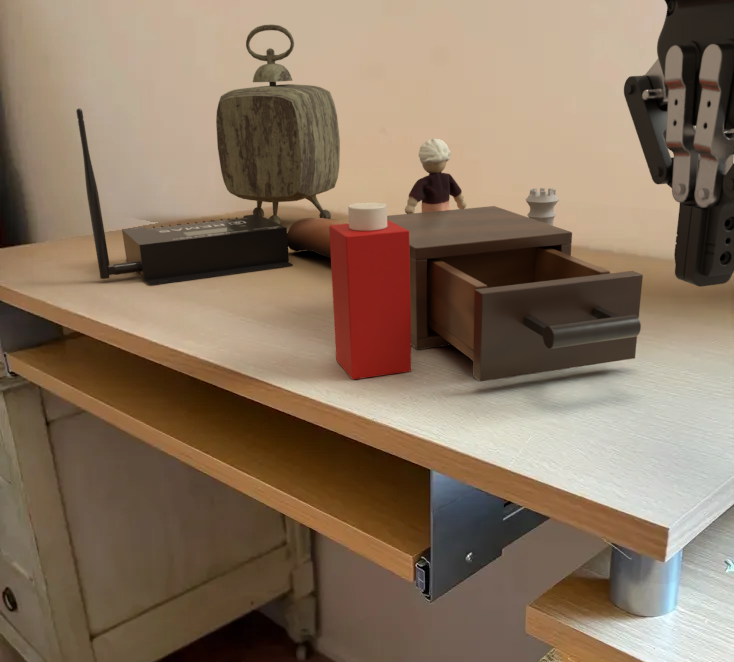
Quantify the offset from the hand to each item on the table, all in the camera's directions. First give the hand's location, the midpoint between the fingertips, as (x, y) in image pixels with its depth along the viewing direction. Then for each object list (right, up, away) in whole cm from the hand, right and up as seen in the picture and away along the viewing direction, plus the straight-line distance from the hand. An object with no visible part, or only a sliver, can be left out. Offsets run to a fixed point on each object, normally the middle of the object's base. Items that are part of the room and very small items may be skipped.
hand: (701, 281), depth 40 cm
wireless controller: (-36, +9, +52) cm, 64 cm away
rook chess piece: (+1, +8, +45) cm, 45 cm away
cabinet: (-9, +1, +30) cm, 32 cm away
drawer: (-5, -2, +19) cm, 19 cm away
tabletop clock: (-28, +19, +73) cm, 81 cm away
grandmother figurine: (-9, +10, +51) cm, 52 cm away
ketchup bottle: (-16, -3, +20) cm, 26 cm away
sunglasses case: (-18, +10, +51) cm, 55 cm away
